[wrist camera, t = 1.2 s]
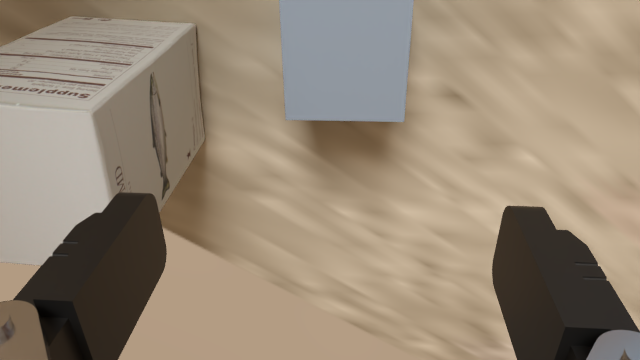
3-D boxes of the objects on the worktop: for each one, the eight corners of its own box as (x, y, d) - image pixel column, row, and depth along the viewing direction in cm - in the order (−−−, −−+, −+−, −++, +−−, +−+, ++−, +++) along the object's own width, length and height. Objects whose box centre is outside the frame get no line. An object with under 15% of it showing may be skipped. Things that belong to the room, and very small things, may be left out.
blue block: (295, -27, 26) (279, -3, 21) (403, -27, 26) (413, -3, 20) (299, 76, 29) (285, 119, 24) (396, 77, 28) (403, 121, 23)
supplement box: (208, 141, 31) (126, 280, 20) (91, 131, 32) (-51, 263, 21) (200, 19, 27) (94, 112, 17) (67, 9, 28) (-123, 94, 17)
